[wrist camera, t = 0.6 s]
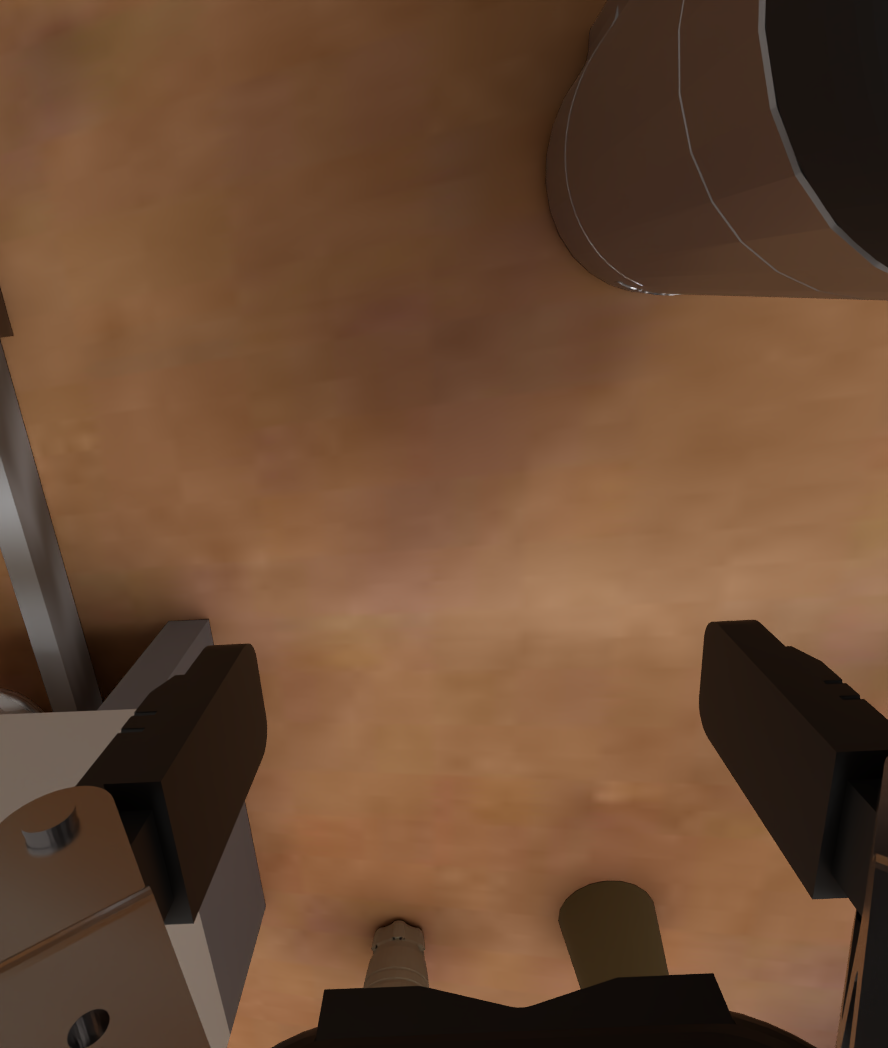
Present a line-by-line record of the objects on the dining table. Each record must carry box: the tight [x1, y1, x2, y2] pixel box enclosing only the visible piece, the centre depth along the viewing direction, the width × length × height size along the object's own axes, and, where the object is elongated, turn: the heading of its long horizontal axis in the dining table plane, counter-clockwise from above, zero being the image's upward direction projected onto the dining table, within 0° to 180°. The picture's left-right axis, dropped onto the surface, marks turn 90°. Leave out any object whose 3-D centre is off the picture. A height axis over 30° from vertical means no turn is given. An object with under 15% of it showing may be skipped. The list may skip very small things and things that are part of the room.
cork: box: [558, 881, 669, 989], centre depth 34 cm, size 6×6×11 cm
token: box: [0, 688, 44, 715], centre depth 33 cm, size 5×5×1 cm
